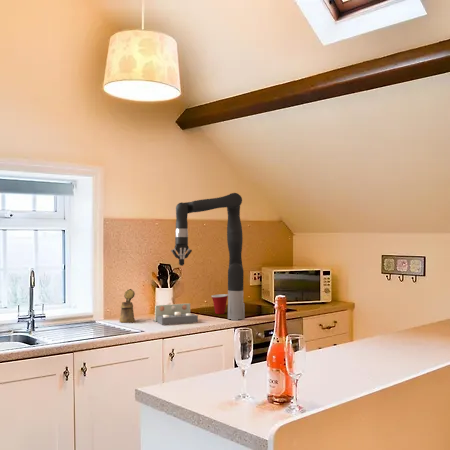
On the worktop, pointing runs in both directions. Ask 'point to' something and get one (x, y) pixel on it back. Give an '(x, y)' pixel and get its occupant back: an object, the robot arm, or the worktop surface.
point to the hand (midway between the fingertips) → (181, 265)
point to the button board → (177, 319)
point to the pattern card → (171, 309)
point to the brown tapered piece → (127, 308)
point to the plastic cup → (219, 303)
